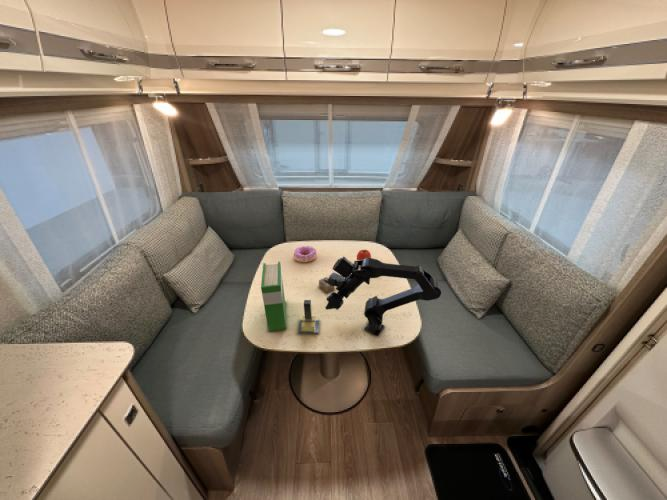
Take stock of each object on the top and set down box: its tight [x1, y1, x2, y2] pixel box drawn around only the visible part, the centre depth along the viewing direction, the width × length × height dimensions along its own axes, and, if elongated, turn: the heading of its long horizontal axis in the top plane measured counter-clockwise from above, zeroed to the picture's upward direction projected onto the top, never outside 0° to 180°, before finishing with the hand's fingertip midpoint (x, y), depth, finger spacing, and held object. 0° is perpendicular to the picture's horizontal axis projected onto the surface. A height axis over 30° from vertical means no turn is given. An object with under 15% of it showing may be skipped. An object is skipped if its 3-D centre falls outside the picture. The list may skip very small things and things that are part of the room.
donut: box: [293, 245, 317, 263], centre depth 167 cm, size 14×14×5 cm
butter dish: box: [297, 315, 320, 335], centre depth 117 cm, size 8×7×4 cm
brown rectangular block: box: [318, 276, 335, 294], centre depth 140 cm, size 7×5×4 cm
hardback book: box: [260, 261, 287, 332], centre depth 118 cm, size 18×7×24 cm, turn 10°
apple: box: [356, 249, 372, 261], centre depth 156 cm, size 9×8×11 cm
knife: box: [303, 299, 313, 322], centre depth 114 cm, size 3×2×14 cm
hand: (330, 303), depth 115 cm, fingers open, 9 cm apart
